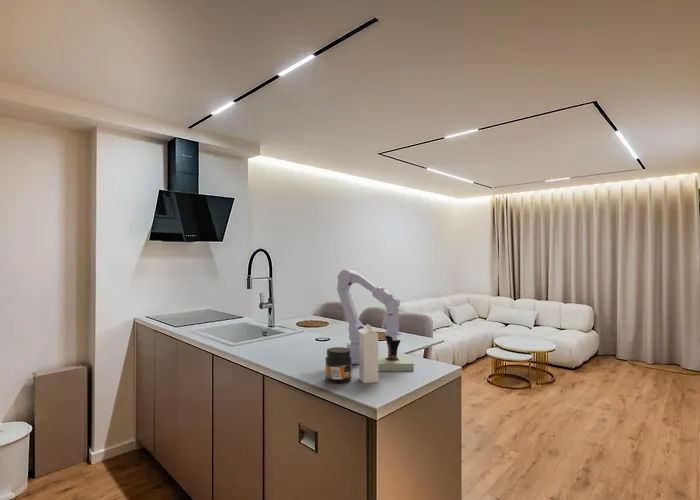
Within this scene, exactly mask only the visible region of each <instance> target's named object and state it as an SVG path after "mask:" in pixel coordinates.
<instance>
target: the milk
mask: <svg viewBox="0 0 700 500" xmlns="http://www.w3.org/2000/svg"><path fill="white" fill-rule="evenodd" d="M365 325H366V326H365V327H364V328H365V329H363V330H362V331H360V333H359V364H358V366H359V367H358V369H359V370H358V371H359V374H358V375H359V377H358V378H359V380H360V381H361V382H362V383H363V384H368V383H369V384H371V383H379V371H378V355H379V333H378V332H376V331H374V330H373V329H372V325H371V324H368V323H366V324H365Z"/></svg>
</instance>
